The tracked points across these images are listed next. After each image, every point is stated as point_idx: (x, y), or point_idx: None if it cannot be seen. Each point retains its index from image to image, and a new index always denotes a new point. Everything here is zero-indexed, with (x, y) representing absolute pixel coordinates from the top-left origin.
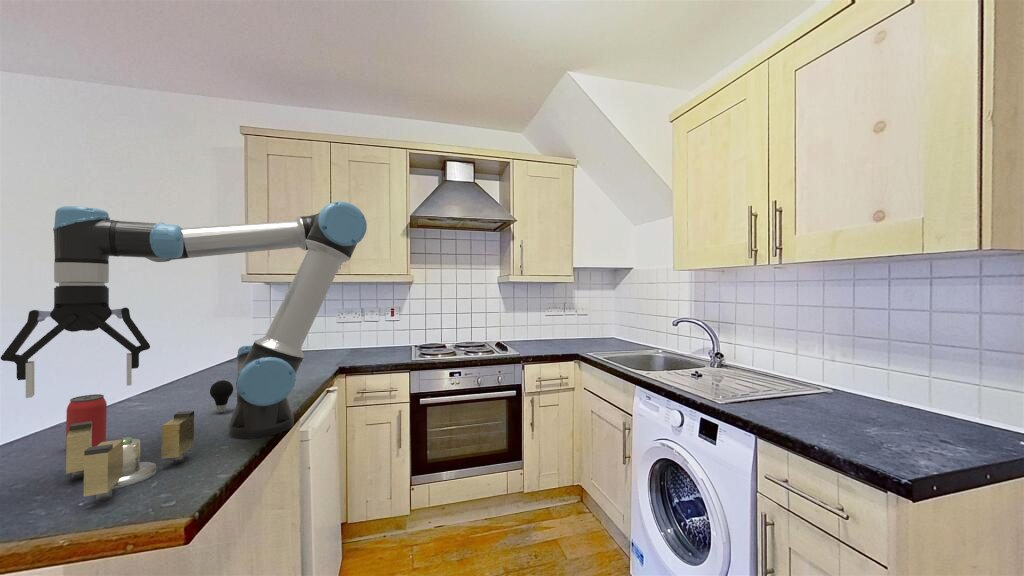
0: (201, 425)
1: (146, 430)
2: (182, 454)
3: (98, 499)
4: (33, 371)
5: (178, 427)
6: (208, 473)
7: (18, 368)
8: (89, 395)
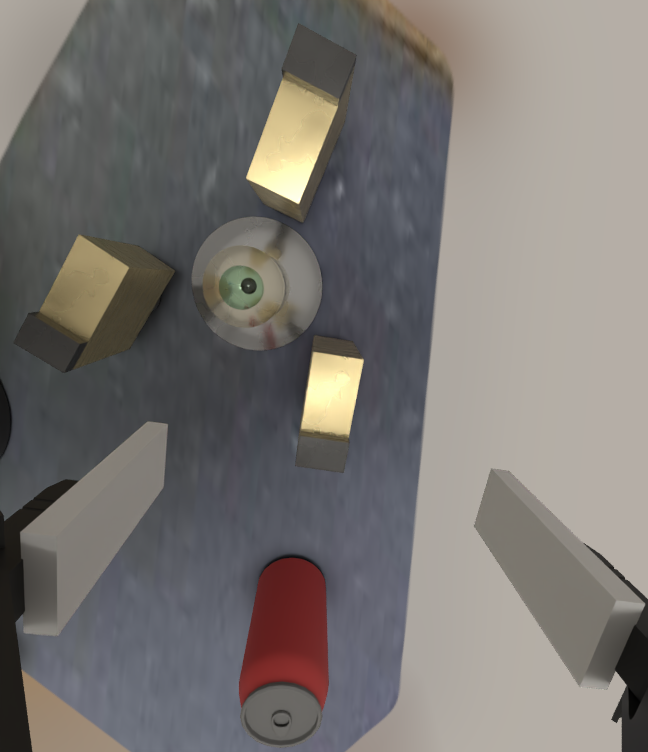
0: None
1: (177, 619)
2: None
3: None
4: (546, 596)
5: (89, 236)
6: (97, 138)
7: (640, 596)
8: (273, 743)
